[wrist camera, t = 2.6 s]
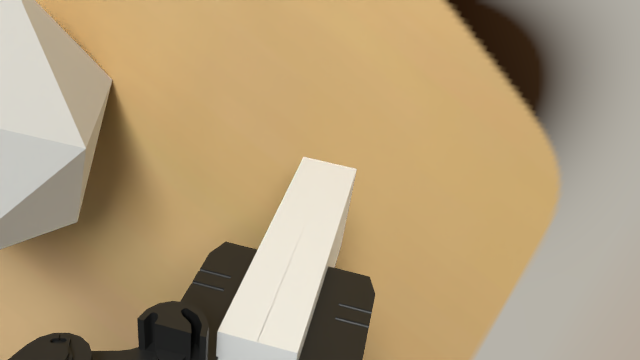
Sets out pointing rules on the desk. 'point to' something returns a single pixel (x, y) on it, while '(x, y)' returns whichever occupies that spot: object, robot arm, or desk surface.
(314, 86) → the desk surface
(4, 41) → the die
